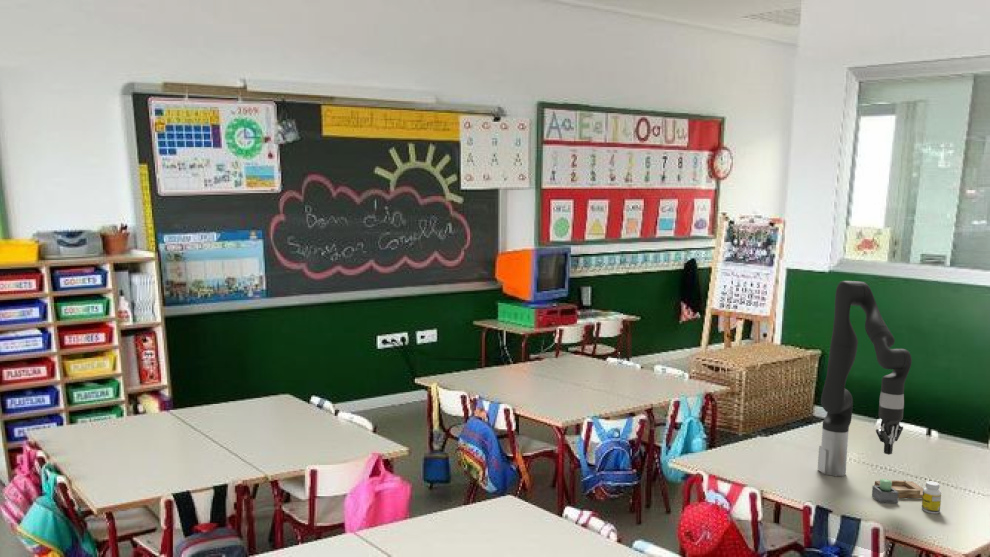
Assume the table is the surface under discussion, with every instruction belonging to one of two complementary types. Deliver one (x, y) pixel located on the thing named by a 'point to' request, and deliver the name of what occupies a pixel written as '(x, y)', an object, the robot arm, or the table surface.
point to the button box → (885, 495)
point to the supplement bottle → (931, 498)
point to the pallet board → (906, 489)
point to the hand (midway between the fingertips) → (887, 453)
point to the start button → (885, 484)
